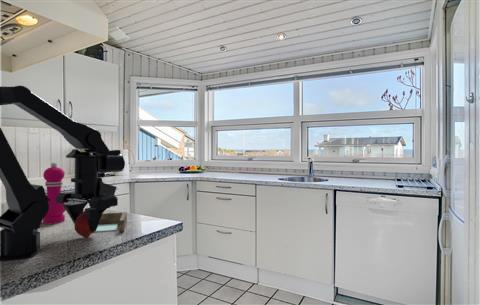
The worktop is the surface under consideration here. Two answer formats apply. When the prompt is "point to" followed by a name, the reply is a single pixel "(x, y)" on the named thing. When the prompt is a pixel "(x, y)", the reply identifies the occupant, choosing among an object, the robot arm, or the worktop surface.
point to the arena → (114, 219)
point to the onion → (82, 225)
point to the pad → (106, 227)
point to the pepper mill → (54, 194)
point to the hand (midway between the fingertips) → (86, 230)
